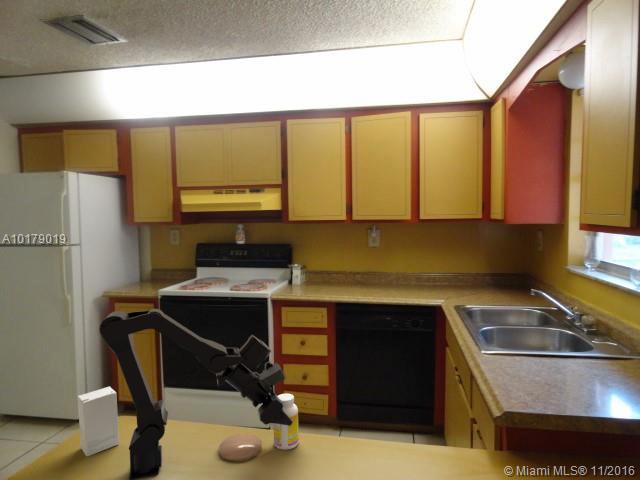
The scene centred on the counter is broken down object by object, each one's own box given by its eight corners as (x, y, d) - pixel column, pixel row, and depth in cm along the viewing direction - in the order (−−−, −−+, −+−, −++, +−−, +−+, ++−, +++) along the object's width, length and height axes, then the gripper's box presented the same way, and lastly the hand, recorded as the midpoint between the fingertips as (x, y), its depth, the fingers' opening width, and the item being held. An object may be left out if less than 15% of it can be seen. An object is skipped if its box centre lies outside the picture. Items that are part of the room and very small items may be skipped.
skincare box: (112, 437, 111) (111, 385, 111) (119, 445, 107) (118, 391, 106) (78, 449, 105) (76, 394, 105) (84, 458, 101) (82, 401, 101)
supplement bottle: (300, 437, 109) (299, 392, 109) (296, 451, 103) (295, 402, 102) (276, 436, 110) (275, 391, 110) (271, 450, 103) (270, 402, 103)
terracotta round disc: (220, 465, 97) (220, 460, 97) (218, 442, 108) (217, 437, 108) (264, 456, 101) (264, 451, 101) (258, 435, 111) (258, 430, 111)
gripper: (273, 368, 95) (317, 406, 99) (260, 346, 113) (298, 379, 117) (240, 406, 93) (287, 443, 97) (233, 377, 111) (273, 410, 115)
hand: (287, 415), depth 106 cm, fingers open, 9 cm apart
